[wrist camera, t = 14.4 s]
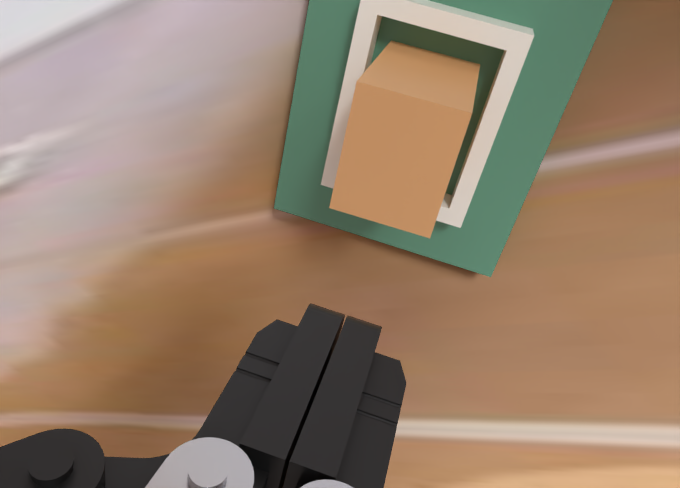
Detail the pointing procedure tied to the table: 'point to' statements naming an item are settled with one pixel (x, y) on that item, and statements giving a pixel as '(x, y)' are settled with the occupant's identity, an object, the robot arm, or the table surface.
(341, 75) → the board
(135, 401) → the table surface
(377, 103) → the tan rectangular block
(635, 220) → the table surface
